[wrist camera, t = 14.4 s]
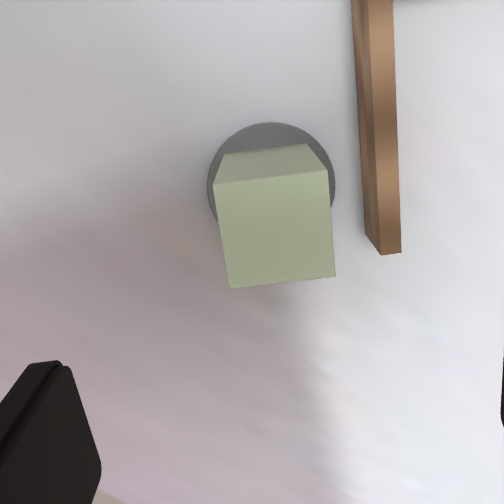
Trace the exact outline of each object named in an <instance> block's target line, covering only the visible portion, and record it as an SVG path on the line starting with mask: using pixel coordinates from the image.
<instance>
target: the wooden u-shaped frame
mask: <svg viewBox="0 0 504 504" xmlns="http://www.w3.org/2000/svg"><path fill="white" fill-rule="evenodd" d="M351 5H352V21H353V38H354V54H355V70H356V86H357V103H358V119H359V135H360V151H361V168H362V184H363V200H364V216H365V232H366V235H367V237H368V238H369V240H370V241H371V242H372V244H373V245H374V247H375V248H376V249H377V251H378V252H379V254H380V255H388V254H395V253H401V225H400V197H399V168H398V140H397V112H396V83H395V55H394V26H393V0H351Z"/></svg>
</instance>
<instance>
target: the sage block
mask: <svg viewBox="0 0 504 504" xmlns="http://www.w3.org/2000/svg"><path fill="white" fill-rule="evenodd" d="M213 191H214V197H215V203H216V210H217V216H218V222H219V228H220V234H221V241H222V247H223V253H224V259H225V266H226V272H227V278H228V284H229V289H235V288H243V287H252V286H260V285H268V284H277V283H285V282H294V281H302V280H311V279H319V278H328V277H336V273H335V260H334V247H333V234H332V221H331V208H330V195H329V182H328V170H327V169H326V167H325V166H324V165H323V164H322V162H321V161H320V160H319V159H318V157H317V156H316V155H315V154H314V152H313V151H312V150H311V149H310V147H309V146H308V145H307V144H306V143H303V144H295V145H288V146H280V147H272V148H265V149H257V150H250V151H242V152H234V153H227V154H224V156H223V159H222V161H221V164H220V167H219V169H218V172H217V174H216V177H215V180H214V182H213Z"/></svg>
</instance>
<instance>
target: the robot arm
mask: <svg viewBox="0 0 504 504" xmlns="http://www.w3.org/2000/svg"><path fill="white" fill-rule="evenodd" d="M501 420H502V424H503V426H504V359H503V377H502V395H501ZM100 478H101V461H100V458H99V455H98V451H97V448H96V445H95V442H94V439H93V436H92V433H91V430H90V427H89V424H88V421H87V417H86V414H85V411H84V408H83V405H82V402H81V399H80V396H79V393H78V390H77V387H76V384H75V380H74V377H73V374H72V371H71V369H70V368H69V367H68V366H63V365H62V364H61V362H60V361H58V360H55V361H47V362H39V363H32V364H29V365H28V366H27V368H26V369H25V370H24V372H23V373H22V374H21V376H20V377H19V378H18V380H17V381H16V382H15V384H14V385H13V387H12V388H11V389H10V391H9V392H8V393H7V395H6V396H5V397H4V399H3V400H2V401H1V403H0V504H92V501H93V498H94V495H95V493H96V490H97V487H98V484H99V481H100Z"/></svg>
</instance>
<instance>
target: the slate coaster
mask: <svg viewBox="0 0 504 504" xmlns="http://www.w3.org/2000/svg"><path fill="white" fill-rule="evenodd" d="M303 143H306V144H307V145H308V146H309V147H310V149H311V150H312V151H313V152H314V154H315V155H316V156H317V157H318V159H319V160H320V161H321V162H322V164H323V165H324V166H325V167H326V169H327V170H328V182H329V195H330V208H331V206H332V203H333V199H334V194H335V177H334V171H333V168H332V164H331V162H330V160H329V158H328V156H327V154H326V152H325V151H324V149H323V148H322V147H321V146H320V144H319V143H318V142H317V141H316V140H315V139H314V138H313V137H311V136H310V135H309V134H307V133H306V132H305V131H303V130H301V129H299V128H297V127H294V126H291V125H288V124H284V123H276V122H267V123H260V124H255V125H252V126H249V127H246V128H244V129H242V130H240V131H238V132H237V133H236V134H234V135H233V136H231V137H230V138H229V139H228V140H227V141H226V142H225V143H224V144H223V145H222V147H221V148H220V149H219V151H218V152H217V154H216V156H215V158H214V160H213V162H212V164H211V167H210V171H209V175H208V181H207V192H208V199H209V203H210V207H211V209H212V212H213V214H214V216H215V218H216V219H217V221H218V216H217V210H216V203H215V197H214V191H213V182H214V180H215V177H216V174H217V172H218V169H219V167H220V164H221V161H222V159H223V156H224V154H227V153H234V152H242V151H250V150H257V149H265V148H272V147H280V146H288V145H295V144H303Z"/></svg>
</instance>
